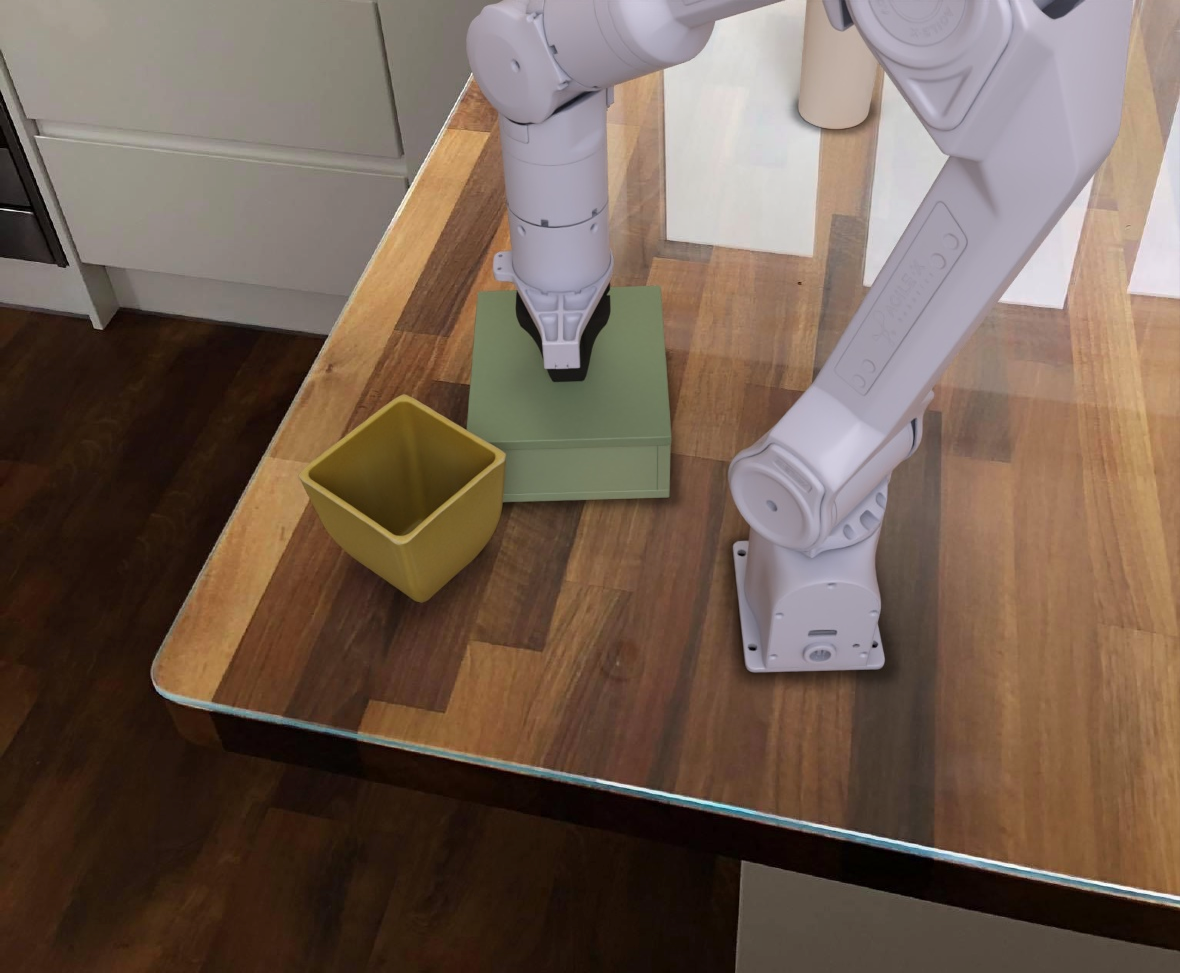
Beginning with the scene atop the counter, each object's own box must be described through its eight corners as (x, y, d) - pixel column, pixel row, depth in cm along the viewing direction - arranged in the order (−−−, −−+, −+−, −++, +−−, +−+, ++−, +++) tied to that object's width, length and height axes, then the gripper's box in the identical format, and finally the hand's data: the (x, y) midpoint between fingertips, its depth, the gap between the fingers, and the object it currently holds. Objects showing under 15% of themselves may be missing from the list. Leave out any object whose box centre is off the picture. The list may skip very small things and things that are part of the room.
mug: (857, 138, 106) (876, 6, 98) (784, 121, 109) (796, -9, 100) (892, 82, 112) (913, -47, 103) (822, 67, 114) (837, -61, 106)
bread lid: (671, 445, 75) (671, 436, 74) (466, 451, 75) (465, 442, 75) (660, 294, 84) (660, 284, 84) (478, 299, 85) (477, 290, 84)
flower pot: (423, 487, 81) (402, 389, 74) (521, 550, 77) (509, 452, 71) (324, 570, 77) (293, 473, 70) (424, 641, 73) (401, 546, 66)
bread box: (669, 497, 80) (670, 436, 75) (476, 503, 80) (467, 442, 76) (660, 356, 89) (660, 294, 84) (487, 362, 89) (478, 300, 85)
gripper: (491, 127, 73) (510, 302, 83) (479, 282, 63) (501, 459, 74) (609, 123, 73) (613, 299, 83) (615, 278, 63) (618, 456, 74)
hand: (568, 374), depth 78 cm, fingers closed, pressing on bread lid
